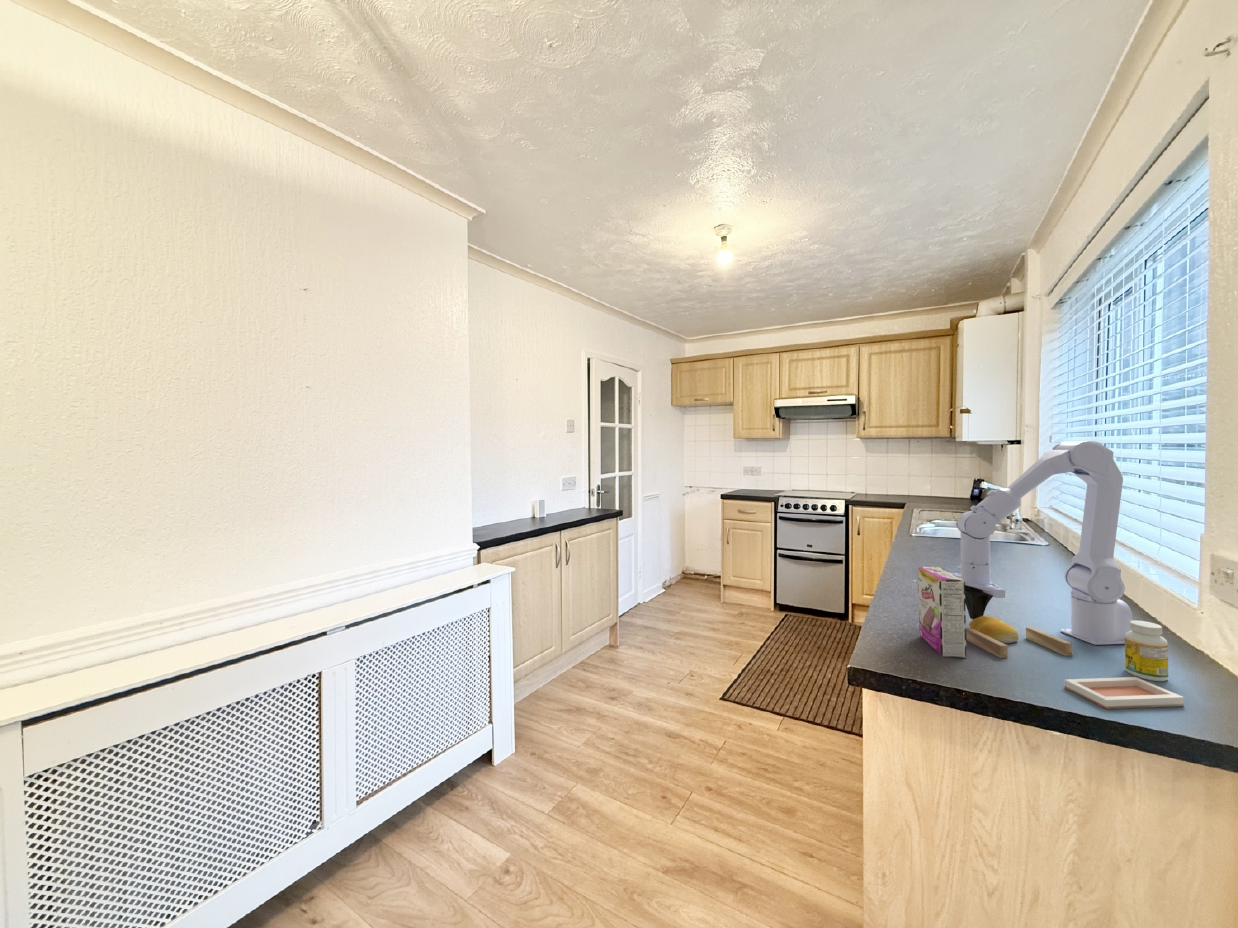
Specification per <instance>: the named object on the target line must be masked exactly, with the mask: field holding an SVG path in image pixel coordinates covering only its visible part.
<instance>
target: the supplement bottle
mask: <svg viewBox="0 0 1238 928" xmlns="http://www.w3.org/2000/svg"><path fill="white" fill-rule="evenodd" d="M1130 629H1131V630H1132V631H1129V632H1127V633H1126V634H1125V644H1124V653H1125V654H1124V668H1125V671H1126V672H1127V673H1129V674H1131V675H1132V676H1133V677H1137V678H1139V679H1142V680H1143V679H1144V680H1146V681H1147V680H1149V681H1152V682H1166V681H1168V680H1169V643H1168V640H1167V639H1166V638H1164V637H1163V636H1162V635H1163V626H1162V625H1160V624H1157V623H1154V622H1150V621H1145V620H1133V619H1132V621H1130Z"/></svg>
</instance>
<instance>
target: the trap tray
mask: <svg viewBox="0 0 1238 928" xmlns="http://www.w3.org/2000/svg"><path fill="white" fill-rule="evenodd" d="M1064 689H1066V690H1068V691H1070V692H1072V693H1074V694H1075V695H1078V696H1080V697H1082V698H1084V699H1086V700H1088V701H1089V700H1090V701H1089V702H1091V703H1094V704H1095V705H1097V706H1099V707H1101V708H1103V709H1105V710H1117V709H1119V710H1120V709H1122V710H1123V709H1143V708H1147V709H1149V708H1169V707H1170V708H1173V707H1175V708H1176V707H1185V697H1184V696H1182V695H1179V694H1177V693H1175V692H1172V691H1170V690H1168V689H1166V688H1163V687H1161V686H1159V685H1156V684H1154V683H1152V682H1148V681H1147V680H1145V679H1144V680H1143V678H1140V677H1137V676H1127V677H1125V676H1124V677H1123V676H1122V677H1099V678H1097V677H1096V678H1071V679H1067V678H1066V679H1064Z"/></svg>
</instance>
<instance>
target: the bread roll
mask: <svg viewBox="0 0 1238 928" xmlns="http://www.w3.org/2000/svg"><path fill="white" fill-rule="evenodd" d="M968 627H969V629H974V630H976V631H978V632H980V633H982V634H985V635H987V636H989V637H991V638H993V639H995V640H997V641H999V642H1001V643H1003V644H1012V643H1014V642H1016V641H1018V639H1019V633H1018V630H1017V629H1016V628H1015V627H1014V626H1012V625H1009V624H1007V623H1005V621H1002V620H1000V619H999V618H996V617H993V616H988V615H983V616H981V617H978V618H975V619H971V621H970V622H969V623H968Z"/></svg>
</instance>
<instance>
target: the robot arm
mask: <svg viewBox="0 0 1238 928" xmlns="http://www.w3.org/2000/svg"><path fill="white" fill-rule="evenodd" d="M1067 473H1072V474H1074V475H1075V476H1076V477H1077V478H1079V479H1080V480H1081V481H1083V482H1084V483H1086V490H1085V491H1086V492H1085V501H1084V507H1083V517H1082V524H1081V533H1080V541H1079V550H1078V552H1077V553H1076V554H1075V555H1073V557H1072V558H1071V562H1070V564H1069V567H1068V568H1067V569H1065V572H1064V580H1065V583H1066V584H1067V585H1068V587H1069V588H1071V592H1070V623H1071V624H1070V625H1071V627H1070V628H1061V629H1059V631H1060V632H1061V633H1064V634H1066V635H1069V636H1071V637H1074V638H1077V639H1078V640H1081V641H1084V642H1086V643H1089V644H1092V645H1095V646H1098V645H1100V646H1101V645H1103V646H1104V645H1125V634H1126V633H1127V632H1129V631H1132V630H1131V629H1130V621H1132V620H1133V614H1132V611H1131V608H1130V606H1129V604H1128V603H1126V602H1125V600H1124V601H1123V599H1121V598H1122V597H1123V595H1124V593H1125V590H1126V587H1125V584H1124V582H1123V580H1122V575H1121V573H1122V570H1121V568H1120V566H1119V565H1118V563H1117V562H1116V560H1115V558H1114V554H1115V548H1116V540H1117V539H1116V537H1117V533H1118V531H1117V530H1118V523H1119V522H1118V521H1119V514H1120V507H1121V500H1122V499H1121V498H1122V492H1123V482H1124V478H1123V474H1122V472H1121V470H1120V469H1119V467H1118V465H1117V463H1116V462H1115V459H1114V451H1113V450H1112V449H1109V448H1108V446H1105V445H1104V444H1103V443H1101V442H1099V441H1095V440H1085V441H1062V442H1059V443H1057V444H1055V445H1054V446H1053V447H1052V448H1051V449H1049V450H1047V451H1046V452H1044V453H1043V454H1042V455H1041V456H1040V458H1039V459H1037V460H1036V461H1035V462H1034V463H1033V464H1032V465H1031V466H1029V468H1027V470H1025V471H1024V472H1023V473H1022V474H1021V475H1020V476H1019V477H1018V478H1017V479H1015V481H1013V482H1012V483H1011V484H1010V485H1009V486H1008V487H1006V488H1001V487H1000V488H996V489H995V490H992V489H991V490H988V491H987V492H986V495H987V496H986V497H985V498H984V499H982V500H981V501H980V502H979V503H977V505H972V506H971V507H970V510H971V511H970V510H969V511H965V512H963V513H962V514H960V515H959V517H958V518H957V519H958V520H957V521H956V522H955V525H956V529H957V530H958V531H959V532H960V542H959V545H960V547H959V549H960V552H959V553H960V573H957V572H951V573H952V574H954V575H955V576H957V577H959V578H961V579H963V580H965V608H966V609H967V610H966V611H967V613H968V616H969V618H970V619H971V620H973V619H975V618H978V617H981V616H985V615H984V614H985V611H986V608H987V606H988V605H989V602H990V600H992V598H996V599H1004V598H1006V589H1005V588H1002V587H1000V586H998V585H997V584H995V583H993V582H992V577H991V575H992V574H991V573H992V572H991V569H992V565H991V535H994V533H995V531H996V525H999V524H1000V523H1001V522H1002V521H1004V520H1005V519H1006V518H1007V517H1009V516H1010V515H1011V514H1013V513H1014V512H1015V511H1017V509H1019V508H1020V507H1021V505H1022V504H1021V503H1022V502H1021V500H1022V498H1023V497H1024V496H1026V495H1028V493H1030V492H1031V491H1033V490H1034V489H1035V488H1037V487H1039V485H1040V486H1041V484H1043V483H1044V482H1045V481H1047V480H1048V479H1050V477H1052V476H1054V475H1061V474H1067Z"/></svg>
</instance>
